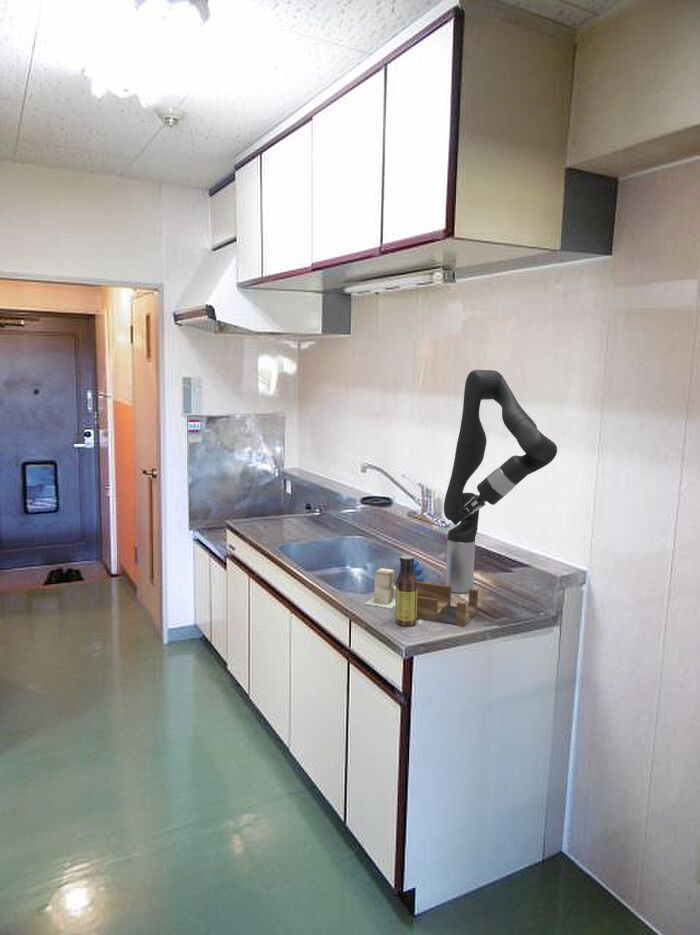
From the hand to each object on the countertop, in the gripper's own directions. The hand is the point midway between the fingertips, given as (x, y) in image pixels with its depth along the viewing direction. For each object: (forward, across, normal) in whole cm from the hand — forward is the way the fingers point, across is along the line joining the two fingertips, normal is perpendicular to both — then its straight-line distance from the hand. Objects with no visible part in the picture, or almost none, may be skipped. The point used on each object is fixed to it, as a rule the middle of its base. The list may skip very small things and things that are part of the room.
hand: (457, 520), depth 200 cm
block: (+36, +2, +4) cm, 36 cm away
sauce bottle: (+27, +16, +14) cm, 34 cm away
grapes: (+32, -12, +9) cm, 35 cm away
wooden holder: (+24, +3, +17) cm, 29 cm away
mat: (+36, +2, +5) cm, 36 cm away
